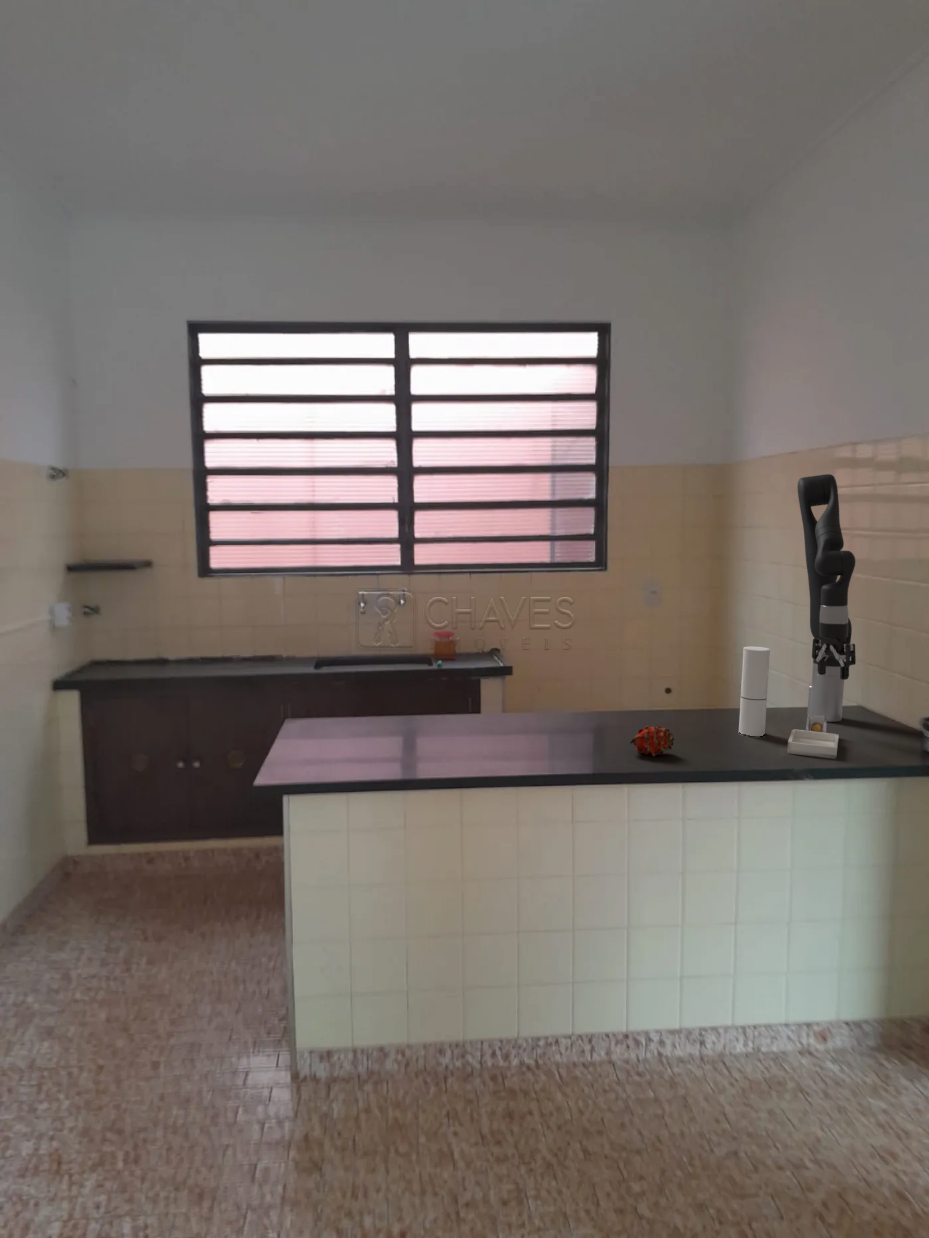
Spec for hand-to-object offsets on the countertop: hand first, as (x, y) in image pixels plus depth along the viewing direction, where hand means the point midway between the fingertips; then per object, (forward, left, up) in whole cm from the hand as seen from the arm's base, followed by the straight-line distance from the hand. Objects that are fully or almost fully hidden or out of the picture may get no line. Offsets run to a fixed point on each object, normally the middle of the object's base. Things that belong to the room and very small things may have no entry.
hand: (832, 676), depth 248 cm
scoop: (+2, -6, -17) cm, 18 cm away
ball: (+1, -5, -15) cm, 16 cm away
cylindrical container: (-7, -22, -17) cm, 28 cm away
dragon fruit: (+2, -61, -17) cm, 63 cm away
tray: (+11, -16, -17) cm, 26 cm away
